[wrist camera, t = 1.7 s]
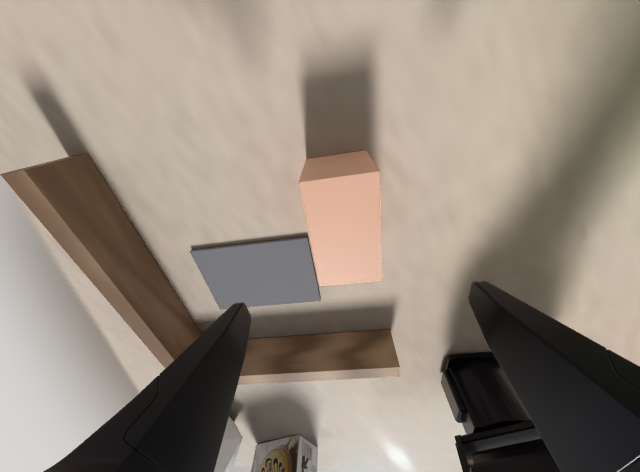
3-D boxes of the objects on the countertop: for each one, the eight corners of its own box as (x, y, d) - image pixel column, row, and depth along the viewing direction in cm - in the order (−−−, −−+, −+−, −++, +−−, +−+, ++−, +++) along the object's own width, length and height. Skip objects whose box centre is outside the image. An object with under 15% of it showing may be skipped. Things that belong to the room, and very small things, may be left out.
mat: (307, 236, 19) (307, 238, 19) (320, 298, 23) (320, 300, 22) (191, 249, 20) (189, 251, 20) (221, 307, 24) (220, 309, 24)
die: (182, 396, 35) (149, 481, 31) (208, 420, 29) (172, 527, 26) (230, 395, 40) (207, 468, 37) (260, 416, 35) (237, 504, 31)
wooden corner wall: (389, 103, 14) (408, 106, 11) (389, 338, 25) (399, 376, 22) (68, 157, 16) (0, 174, 13) (199, 351, 28) (181, 387, 24)
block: (365, 149, 16) (380, 171, 11) (370, 238, 19) (382, 280, 15) (306, 158, 16) (298, 182, 12) (321, 244, 20) (319, 286, 15)
